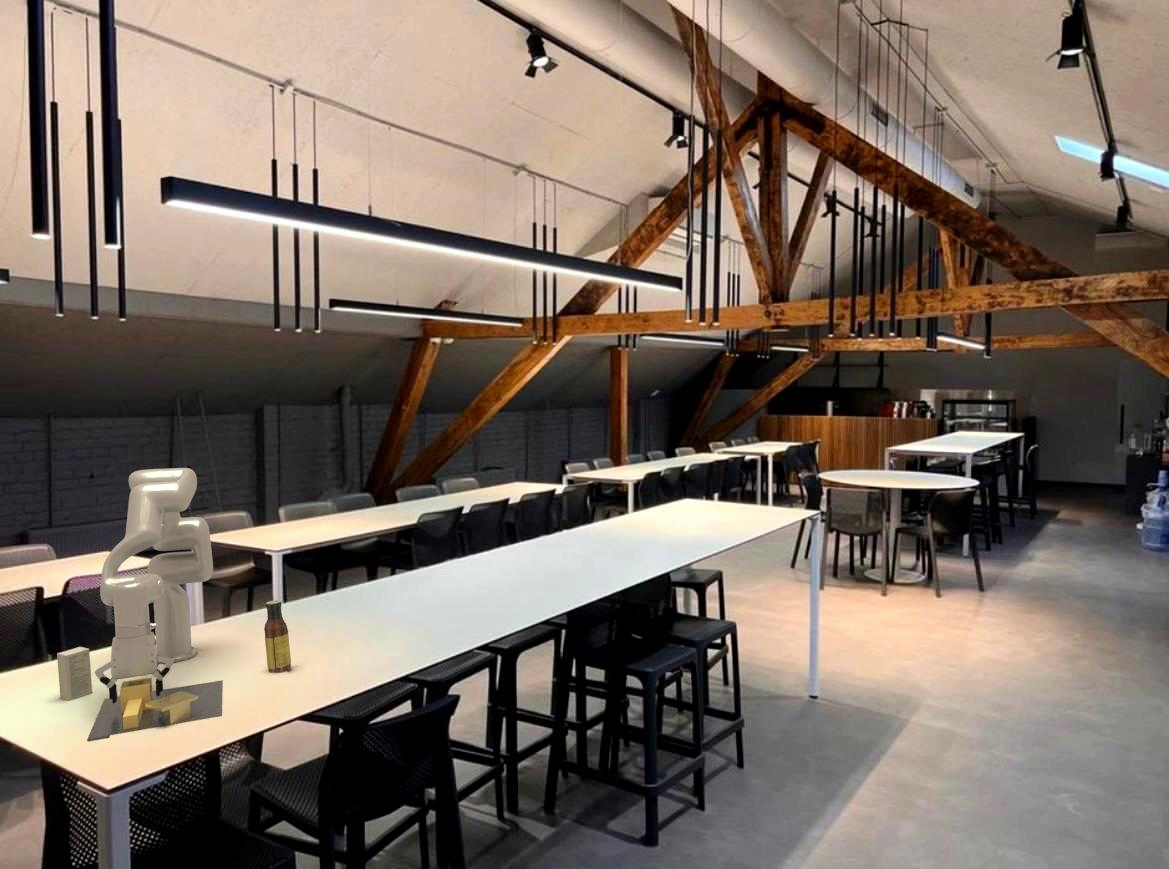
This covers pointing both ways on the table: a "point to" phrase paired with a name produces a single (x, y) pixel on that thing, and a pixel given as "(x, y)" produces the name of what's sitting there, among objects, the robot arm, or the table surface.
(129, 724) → the link
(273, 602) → the sauce bottle
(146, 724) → the pintle board
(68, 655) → the skincare box
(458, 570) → the table surface
